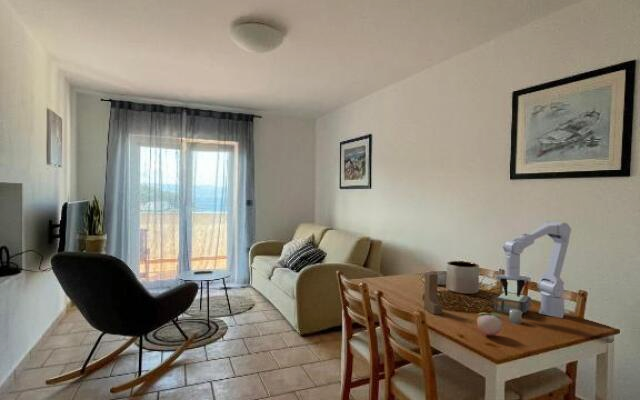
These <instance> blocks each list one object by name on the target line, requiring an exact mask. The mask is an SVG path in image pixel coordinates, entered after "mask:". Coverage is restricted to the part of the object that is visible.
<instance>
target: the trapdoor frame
mask: <svg viewBox="0 0 640 400" xmlns="http://www.w3.org/2000/svg"><path fill="white" fill-rule="evenodd" d="M502 293H504V290H501V294H502ZM507 293H512V294H517V292H510V291H507ZM520 295H524V296H528V295H527V294H526V295H525V294H521V293H520ZM498 297H499V296H494V298H493V300H494V301H493V302H494V303H493V304H494V305H493V306H494V308H493V312H494V313H499V314H504V315H508V316H509V311H510V309H518V310H521V304H522V302H520V301H514V300H509V299H504V298H498ZM498 301H500V304H499V305H498ZM505 302H507V303H505ZM508 303H510V304H508ZM511 303H514V304H511ZM515 304H518V305H515ZM525 313H526V312H522V316H523V315H524V314H525Z"/></svg>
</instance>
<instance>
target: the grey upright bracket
mask: <svg viewBox="0 0 640 400" xmlns="http://www.w3.org/2000/svg"><path fill="white" fill-rule="evenodd" d="M437 277H438V275H437V274H436V273H433V272H431V271H429V272H424V298H423V299H424V301H423V303H424V304H423V305H424V307H423V308H424V309H425V310H426V311H427V312H429V313H431V314H432V315H442V314H443V303H441V302H440V300H439V297H438V285H437Z"/></svg>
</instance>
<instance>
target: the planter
mask: <svg viewBox="0 0 640 400" xmlns="http://www.w3.org/2000/svg"><path fill="white" fill-rule="evenodd" d="M446 272H447V278H446V285H445V287H446V289H447V290H448V291H450V292H452V293H456V294H460V295H474V294H477V293H478V292H479V291H480V264H477V263H474V262H469V261H464V260H463V261H462V260H454V261H453V260H451V261H447V262H446Z"/></svg>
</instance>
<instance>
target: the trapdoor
mask: <svg viewBox="0 0 640 400" xmlns="http://www.w3.org/2000/svg"><path fill="white" fill-rule="evenodd" d="M512 293H513V292H510V293H507V296H506V295H505V292H504V293H502V292H501V294H500V295H499V296H497V297H498V298H504V299H509V300H514V301H520V302H522V304H521V311H522V312H525V313H527V311H528V310H529V309H530V308H531V306H532V297H531V296H528V295H527V296H524V295H525V294H522V295H520V297H518V296H517V293H516V294H512Z"/></svg>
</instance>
